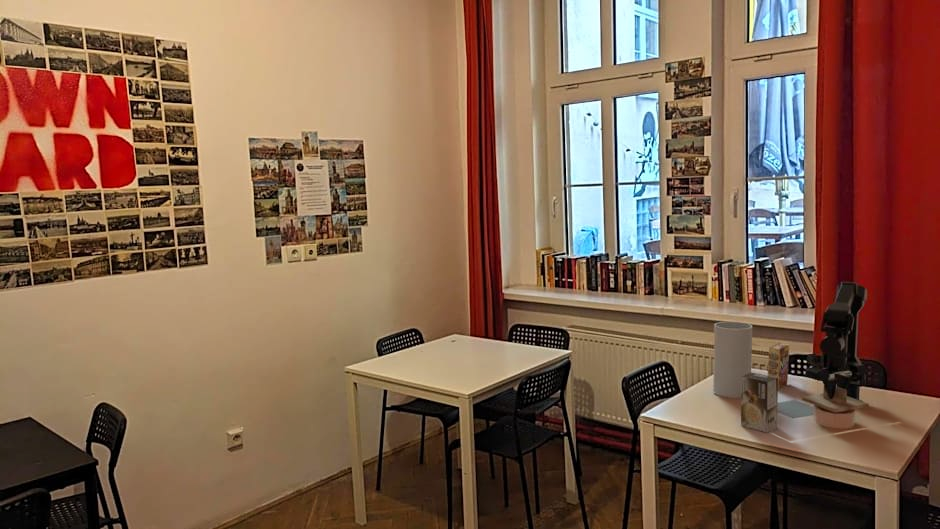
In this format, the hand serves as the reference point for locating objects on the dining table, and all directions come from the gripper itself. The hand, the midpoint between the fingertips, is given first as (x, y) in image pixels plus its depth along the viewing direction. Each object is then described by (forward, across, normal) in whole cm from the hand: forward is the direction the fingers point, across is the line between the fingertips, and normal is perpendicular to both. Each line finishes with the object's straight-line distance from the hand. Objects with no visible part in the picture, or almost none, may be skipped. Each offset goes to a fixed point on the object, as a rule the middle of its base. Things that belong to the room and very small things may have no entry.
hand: (834, 398), depth 220 cm
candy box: (+8, -12, -38) cm, 40 cm away
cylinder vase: (+8, +9, -36) cm, 39 cm away
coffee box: (+8, +23, -6) cm, 25 cm away
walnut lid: (+2, 0, 0) cm, 2 cm away
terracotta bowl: (+8, 0, 0) cm, 8 cm away
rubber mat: (+8, +2, -14) cm, 17 cm away
